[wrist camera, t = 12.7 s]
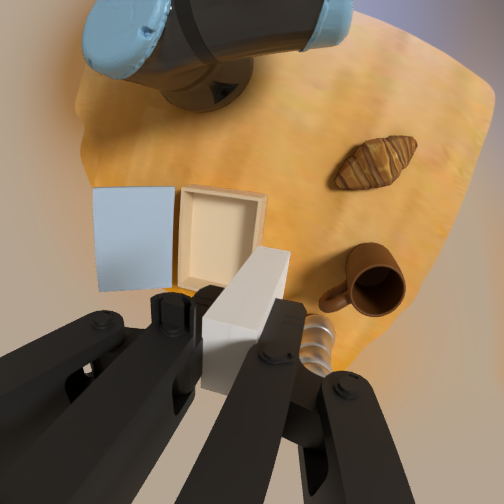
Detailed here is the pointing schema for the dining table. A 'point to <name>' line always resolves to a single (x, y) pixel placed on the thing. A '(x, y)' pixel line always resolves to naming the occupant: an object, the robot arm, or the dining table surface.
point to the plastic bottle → (317, 344)
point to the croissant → (376, 163)
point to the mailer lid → (133, 237)
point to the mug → (368, 283)
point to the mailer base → (217, 234)
